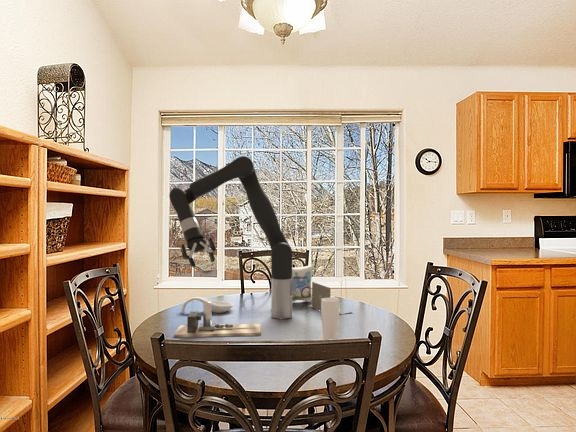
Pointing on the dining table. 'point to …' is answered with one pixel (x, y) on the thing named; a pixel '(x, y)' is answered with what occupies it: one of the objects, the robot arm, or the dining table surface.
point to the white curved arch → (216, 305)
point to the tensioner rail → (236, 330)
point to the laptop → (319, 294)
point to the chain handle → (210, 318)
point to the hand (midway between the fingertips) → (203, 264)
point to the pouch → (301, 283)
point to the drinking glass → (330, 317)
